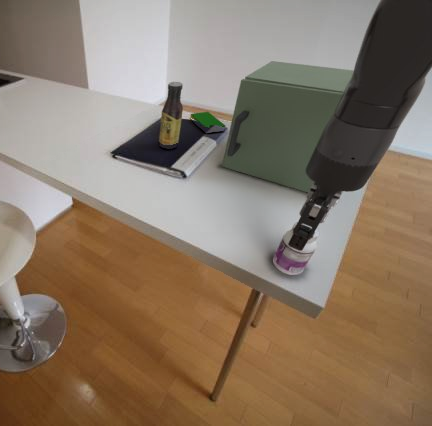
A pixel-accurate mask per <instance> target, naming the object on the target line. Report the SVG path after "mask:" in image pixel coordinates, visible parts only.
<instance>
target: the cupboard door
mask: <svg viewBox="0 0 432 426" xmlns="http://www.w3.org/2000/svg"><path fill="white" fill-rule="evenodd" d="M342 94H343V93H339V92H332V91H325V90H318V89H311V88H304V87H296V86H289V85H282V84H275V83H268V82H261V81H254V80H246V79H245V78H242V79H241V80H240V83H239V88H238V93H237V96H236V100H235V104H234V105H235V106H234V109H233V114H232V119H231V122H230V127H229V132H228V136H227V140H226V145H225V149H224V154H223V158H222V161H221V162H222V163H221V167H223V168H225V169H228V170H232V171H236V172H239V173H241V174H246V175H248V176H252V177H254V178H258V179H262V180H265V181H269V182H272V183H274V184H278V185H280V186H285V187H288V188H290V189H291V188H292V189H293V190H297V191H301V192H305V193H307V194H308V192H309V190H310V188H312V185H313V184H314V182H313V181H312V180H310V179H309V178H308V176H307V175H306V167H307V165H308V163H309V160H310V158H311V156H312V154H313V152H314V150H315V147H316V145H317V143H318V141H319V139H320V137H321V134H322V132H323V130H324V128H325V126H326V125H327V123H328V122H329V120H330V119H331V117H332V115H333V113H334V111H335V109H336V107H337V105H338V103H339V101H340V99H341V96H342Z"/></svg>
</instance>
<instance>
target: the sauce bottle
mask: <svg viewBox="0 0 432 426" xmlns="http://www.w3.org/2000/svg"><path fill="white" fill-rule="evenodd" d="M183 84H184V83H182V82H180V81H170V82H169V83H168V85H167V97H166V100H165V102H164V105H163V107H162V110H161V116H160V127H159V128H160V129H159V137H158V142H160V143H161V144H163V145H173V144H176V143H178V144H179V141H180V135H181V134H180V133H181V128H182V120H183V110H184V106H183V104H182V102H181V98H182V97H181V96H182V90H183Z"/></svg>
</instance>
